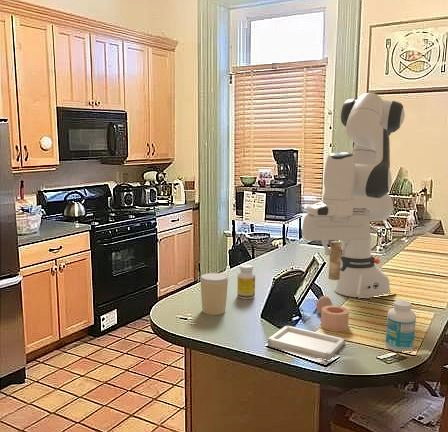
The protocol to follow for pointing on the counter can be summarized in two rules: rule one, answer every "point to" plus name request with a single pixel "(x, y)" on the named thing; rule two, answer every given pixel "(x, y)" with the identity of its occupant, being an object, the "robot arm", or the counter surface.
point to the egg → (323, 303)
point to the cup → (334, 318)
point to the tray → (306, 342)
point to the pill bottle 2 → (400, 327)
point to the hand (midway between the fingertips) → (335, 254)
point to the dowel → (335, 260)
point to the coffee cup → (214, 293)
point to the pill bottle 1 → (246, 282)
